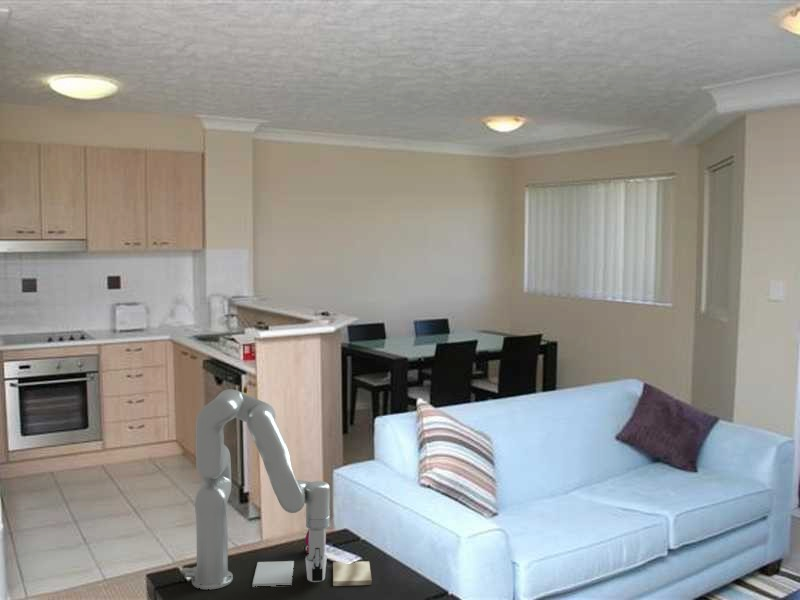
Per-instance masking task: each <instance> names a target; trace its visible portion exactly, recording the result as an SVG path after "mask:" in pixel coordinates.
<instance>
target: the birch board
mask: <svg viewBox="0 0 800 600" xmlns="http://www.w3.org/2000/svg"><path fill="white" fill-rule="evenodd" d="M342 562H343V561H333V562H332V570H333V571H332V586H333V587H343V586H344V587H345V586H346V587H347V586H372V581H373V579H372V572H371V563H370V561H369V560H367V561H354V562H355V563H352V564H344V563H342Z"/></svg>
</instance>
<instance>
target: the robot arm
mask: <svg viewBox="0 0 800 600" xmlns="http://www.w3.org/2000/svg"><path fill="white" fill-rule="evenodd" d="M234 419H238V420H240V421H242V422H245V423H246V426H247V428H248V431H249V433H250V436H251V438H252V439H253V442H254V444H255V447H256V449H257V451H258V454H259V455H260V457H261V459H262V463H263V464H264V468H265V471H266V474H267V476H268V479H269V482H270V484H271V487H272V490H273V492H274V495H275V496H276V498H277V501H278V503H279V505H280V506H281V508H282V509H283V510H284V511H285V512H287V513H288V514H289V513H290V514H296V513H298V512H300V511H301V510H302V509H303V508H304V506H305V527H306V529H308V530H309V560H312V559H313V568H312V581H320V582H323V581H322V560H323V559H324V554H326V553H325V551H326V543H325V541H326V542H327V535H326V534H327V533H326V531H327V529H328V528H329V527H330V523H331V521H330V520H331V519H330V518H331V517H330V515H331V513H330V512H331V511H330V505H331V503H330V501H331V488H330V487H331V486H330V484H329V483H328V482H326V481H322V480H316V481H308V480H307V481H306V480H300V479H296V476H295V474H294V470H293V468H292V463H291V455H290V451H289V449H288V445H287V444H286V441H285V439H284V438H283V437H284V436H283V435H282V433H281V430H280V429H279V425H278V424H277V422H276V411H275V409H274V408H273V406H272V405H270V404H269V403H267V402H265V401H263V400H261V399H258V398H255V397H253V396H251V395H249V394H246V393H244V392H241V391H239V390H237V389H230V388H228V389H225V390H223V391H221V392H219V394H218V395H217V396H216V397H215V398H214V399H213V400H211V401H210V402H209V403H207V404H206V405H205V406H203V407H202V408H201V410H200V411H199V413H198V414H197V417H196V420H195V421H196V422H195V455H196V456H195V460H196V461H195V467H196V470H197V473H198V475H200V477H201V485H200V487H199V489H198V490H197V493H196V495H195V499H194V500H195V501H194V510H195V522H196V528H195V529H196V530H195V531H196V566H193V567H183V568H182V575H184V577H185V578H190V577H192V578H191V584H192V586H193V587H194V588H196V589H199V588H200V590H208V589H209V590H216V589H221V588H224V587H226V586H228V585H230V584H231V583H232V582H233V579H234V575H233V573H232V572H231V571H229V560H228V559H229V555H228V554H229V553H228V552H229V551H228V550H229V549H228V548H229V543H228V542H229V539H228V537H229V536H228V535H229V534H228V533H229V530H228V524H229V523H228V521H229V520H228V500H229V498H230V495H231V492H232V462H231V461H232V460H231V453H230V449H229V448H228V446H226V444H225V434H224V427H225V425H226V424H227V423H228V422H230V421H232V420H234ZM314 557H315V558H314ZM319 557H321V558H319ZM319 561H320V562H319ZM209 590H208V591H209Z"/></svg>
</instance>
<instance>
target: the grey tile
mask: <svg viewBox="0 0 800 600" xmlns="http://www.w3.org/2000/svg"><path fill="white" fill-rule="evenodd" d="M294 566H295V561H294V560H287V561H286V560H284V561H282V560H281V561H280V560H279V561H257V563H256V568H255V572H254V576H253V579H252V586H251V587H252V588H258V587H257V586H271V587H277V586H276V585H291V586H292V585H293V577H292V576H294V569H293V568H295V567H294ZM255 586H256V587H255Z"/></svg>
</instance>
